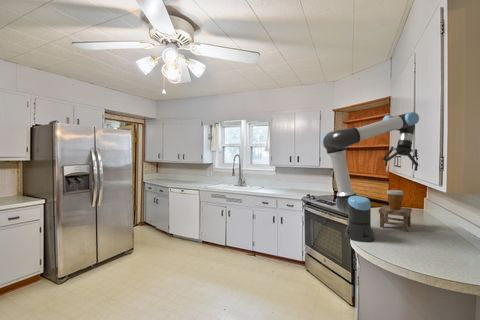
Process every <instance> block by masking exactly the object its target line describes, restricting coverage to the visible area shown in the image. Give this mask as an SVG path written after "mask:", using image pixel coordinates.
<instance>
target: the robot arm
mask: <svg viewBox="0 0 480 320" xmlns="http://www.w3.org/2000/svg"><path fill="white" fill-rule="evenodd" d="M419 120H420V116H419V114H418V113H417V112H415V111H411V112H410V111H409V112H406V113H401V114H399V115H394V116H393V115H389V114H387V115H385V116H384V117H383V118H382V120H379V121H376V122H373V123H370V124H365V125H362V126H360V127H355V126H353V127H350V128H343V129H337V130H332V131H329V132H327V133H326V134H325V135H323V137H322V139H321V140H322V141H321V142H322V146H323V147H324V149H325V150H326V154H327V155H328V156H330V161H331V165H332V171H333V174H334V180H335V183H336V189H337V193H336V199H335V205H336V208H337V209H338V210H339V211H340V212H342V213H343V214H346V215H347V216H348V219H347V220H348V224H347V226H346V228H345V232H344V233H345V237H346V238H347V239H349V240H352V241H356V242H362V243H364V242H367V243H368V242H373V241H375V233H374V232H373V227H372V223H371V222H372V221H371V220H372V217H371V216H372V215H371V211H372V209H371V208H372V204H371V200H370V199H369V198H367V197H365V196H361V195H357V192H356V191H355V190H354V189H353V187H352V182H351V178H350V173H349V168H348V164H347V163H348V162H347V159H346V154H345V153H346V152H347V148H348V147H351V146H353V145H356V144H359V143H361V141H363V140H366V139H370V138H372V137H373V138H374V137H375V136H376V137H377V136H380V135H382V134H387V133H388V132H392V131H398V132H399V135H398V141H397V144H396V145H397V146H396V147H394V146H391V147H390V149H389V150H388V152H387V153H386V154H385V155H384V156H383V157H382V160H383V161H385V162H384V167H386V168H385V169H386V170H385V173H387V172H388V169H389V164H390V160H392V159H393V158H395V157H396V156H398V155H399V156H404V157H408V158H409V160H410V161H411V162H412V164H413V166H412V172H411V177H413V176H414V175H415V171H417V170H418V166H419V165H418V162H417V160H418V158H417V154H418V149H417V148H416V149H412V146H413V140H414V135H415V129H416V126H415V124H418V123H419ZM393 151H395V152H394V153H393ZM392 153H393V154H392ZM411 153H412V154H414V157H415V158H414V157H413V156H412V154H411ZM390 154H391V155H390ZM415 159H416V160H415Z"/></svg>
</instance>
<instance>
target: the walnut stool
mask: <svg viewBox="0 0 480 320" xmlns="http://www.w3.org/2000/svg"><path fill="white" fill-rule="evenodd" d="M412 211H413V210H412V208H410V207H403V206H401V209H400V210H394V209H390V208H389V205H382V207H380V208H378V214H379V228H385V225H391V226H392V225H393V226H400V227H403V228H402V229H403V232H406V233H408V231H409V228H410V227H411V226H412V225H411V224H412V223H411V222H412V221H411V218H412V216H411V213H412ZM389 215H390V216H391V215H392V216H399V217H403V218H396V217H390V216H389ZM390 220H391V221H390ZM392 221H398V222H392ZM401 222H403V223H401Z"/></svg>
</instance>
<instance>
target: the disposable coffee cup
mask: <svg viewBox="0 0 480 320" xmlns="http://www.w3.org/2000/svg"><path fill="white" fill-rule="evenodd" d="M386 194H387V199H388V206H389V208H390V209H394V210H400V209H401V207H402V204H403V196H404V191H403V190H399V189H398V190H397V189H387V192H386Z"/></svg>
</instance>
